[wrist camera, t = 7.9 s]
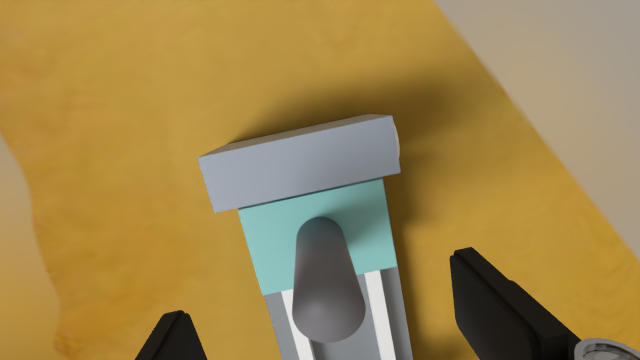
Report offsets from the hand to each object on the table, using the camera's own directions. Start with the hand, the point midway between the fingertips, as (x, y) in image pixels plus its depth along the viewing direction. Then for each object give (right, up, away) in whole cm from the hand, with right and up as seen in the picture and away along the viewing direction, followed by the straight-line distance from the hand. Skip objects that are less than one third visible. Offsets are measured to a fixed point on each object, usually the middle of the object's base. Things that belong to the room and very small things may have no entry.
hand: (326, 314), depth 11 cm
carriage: (0, +1, +10) cm, 10 cm away
